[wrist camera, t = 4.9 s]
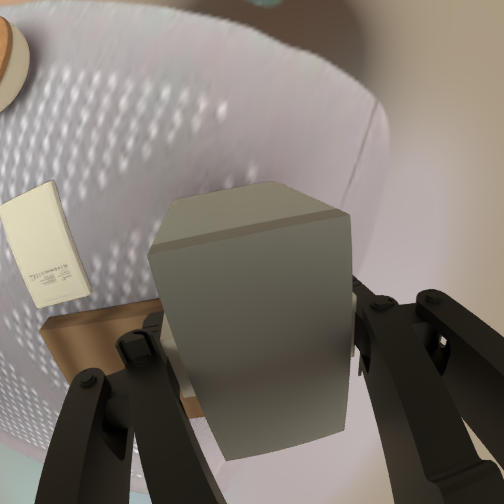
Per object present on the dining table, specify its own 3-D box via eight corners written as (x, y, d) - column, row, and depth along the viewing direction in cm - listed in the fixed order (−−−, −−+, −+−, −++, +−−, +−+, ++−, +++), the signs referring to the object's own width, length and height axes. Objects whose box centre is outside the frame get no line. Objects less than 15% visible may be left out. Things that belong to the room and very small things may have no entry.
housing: (211, 349, 17) (226, 461, 10) (173, 200, 14) (147, 255, 7) (292, 330, 18) (344, 430, 10) (273, 180, 15) (350, 214, 7)
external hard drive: (56, 179, 25) (94, 289, 29) (4, 204, 24) (41, 303, 28) (49, 180, 23) (90, 296, 28) (-4, 207, 23) (35, 309, 27)
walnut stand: (101, 409, 34) (97, 424, 31) (49, 317, 29) (39, 330, 26) (207, 399, 36) (208, 415, 33) (172, 296, 30) (169, 310, 27)
